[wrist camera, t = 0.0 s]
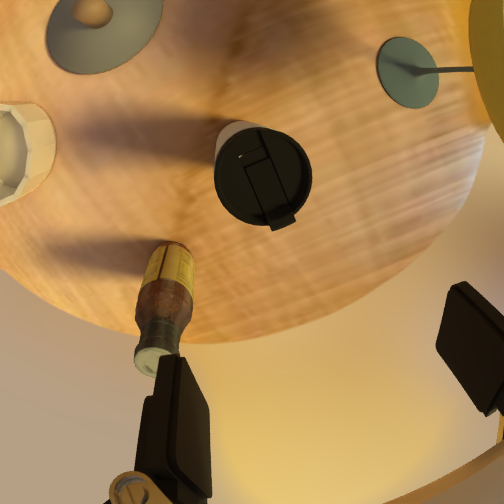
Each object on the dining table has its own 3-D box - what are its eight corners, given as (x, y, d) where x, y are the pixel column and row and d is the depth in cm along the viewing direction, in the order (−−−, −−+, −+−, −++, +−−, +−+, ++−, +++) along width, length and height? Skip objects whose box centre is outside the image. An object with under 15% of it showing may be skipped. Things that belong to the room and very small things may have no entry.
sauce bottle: (155, 280, 43) (126, 388, 25) (147, 241, 40) (104, 339, 22) (200, 277, 43) (193, 387, 26) (195, 237, 41) (181, 337, 23)
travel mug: (229, 180, 38) (240, 248, 20) (207, 132, 35) (195, 154, 17) (275, 161, 37) (329, 210, 19) (255, 113, 34) (295, 113, 17)
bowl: (-16, 124, 29) (-43, 130, 23) (46, 87, 29) (20, 86, 23) (4, 202, 35) (-20, 216, 29) (66, 175, 35) (43, 187, 29)
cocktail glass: (459, 47, 31) (588, 48, 8) (443, 148, 38) (576, 201, 16) (362, -4, 28) (489, -68, 5) (341, 111, 35) (490, 131, 13)
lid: (48, -1, 23) (27, -12, 17) (155, -45, 23) (147, -65, 18) (58, 92, 30) (34, 92, 24) (172, 51, 30) (163, 40, 25)
